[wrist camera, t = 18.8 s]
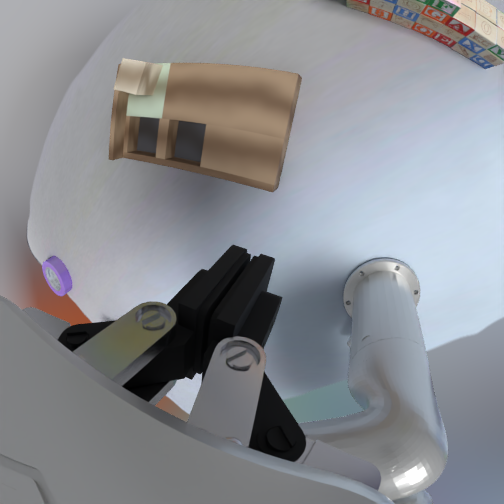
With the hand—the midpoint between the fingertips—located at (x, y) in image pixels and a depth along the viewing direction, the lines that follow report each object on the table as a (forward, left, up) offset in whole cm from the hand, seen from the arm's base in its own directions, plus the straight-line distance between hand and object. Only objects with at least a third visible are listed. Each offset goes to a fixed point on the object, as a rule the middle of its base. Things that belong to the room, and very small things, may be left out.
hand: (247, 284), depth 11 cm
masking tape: (-43, +63, -30) cm, 82 cm away
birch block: (+10, +28, -26) cm, 39 cm away
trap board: (+4, +19, -29) cm, 35 cm away
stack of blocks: (+27, -10, -30) cm, 41 cm away
